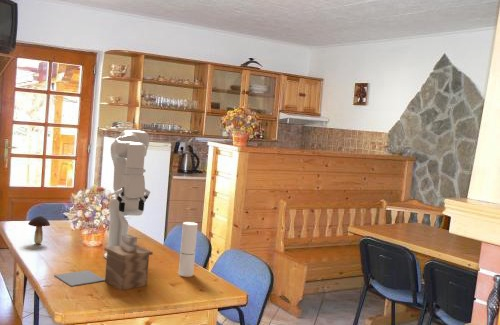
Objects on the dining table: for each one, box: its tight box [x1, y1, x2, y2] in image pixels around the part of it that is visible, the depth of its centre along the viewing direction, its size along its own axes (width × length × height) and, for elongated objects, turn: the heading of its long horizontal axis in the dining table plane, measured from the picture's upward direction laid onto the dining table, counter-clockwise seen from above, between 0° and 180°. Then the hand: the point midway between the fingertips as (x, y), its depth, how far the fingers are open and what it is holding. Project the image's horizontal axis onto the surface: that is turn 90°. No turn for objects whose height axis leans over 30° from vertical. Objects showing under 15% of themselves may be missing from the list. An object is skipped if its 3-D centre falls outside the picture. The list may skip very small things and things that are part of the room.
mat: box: [54, 269, 105, 288], centre depth 227 cm, size 16×16×1 cm
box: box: [104, 251, 150, 291], centre depth 226 cm, size 13×13×14 cm
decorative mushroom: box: [28, 216, 51, 245], centre depth 276 cm, size 11×11×15 cm
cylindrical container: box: [178, 221, 199, 278], centre depth 247 cm, size 7×7×25 cm
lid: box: [103, 233, 154, 259], centre depth 225 cm, size 15×15×7 cm
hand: (131, 210), depth 224 cm, fingers open, 9 cm apart
